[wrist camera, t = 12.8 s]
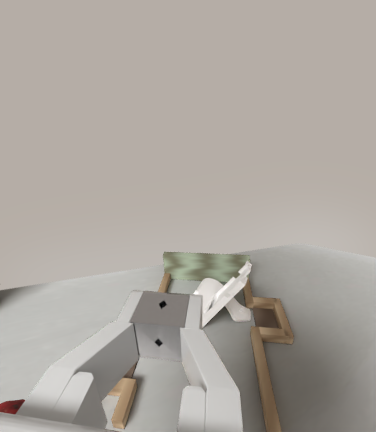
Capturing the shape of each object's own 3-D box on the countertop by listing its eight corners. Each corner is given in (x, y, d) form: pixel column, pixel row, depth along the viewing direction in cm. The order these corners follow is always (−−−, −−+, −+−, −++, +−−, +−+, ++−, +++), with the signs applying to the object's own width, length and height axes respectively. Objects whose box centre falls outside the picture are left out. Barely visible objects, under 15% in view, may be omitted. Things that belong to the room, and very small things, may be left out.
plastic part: (201, 293, 41) (200, 240, 37) (252, 310, 37) (258, 253, 32) (182, 322, 35) (179, 263, 31) (242, 347, 30) (247, 282, 26)
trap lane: (74, 421, 23) (60, 388, 21) (146, 274, 47) (143, 251, 45) (333, 461, 20) (350, 427, 17) (269, 280, 43) (273, 256, 41)
